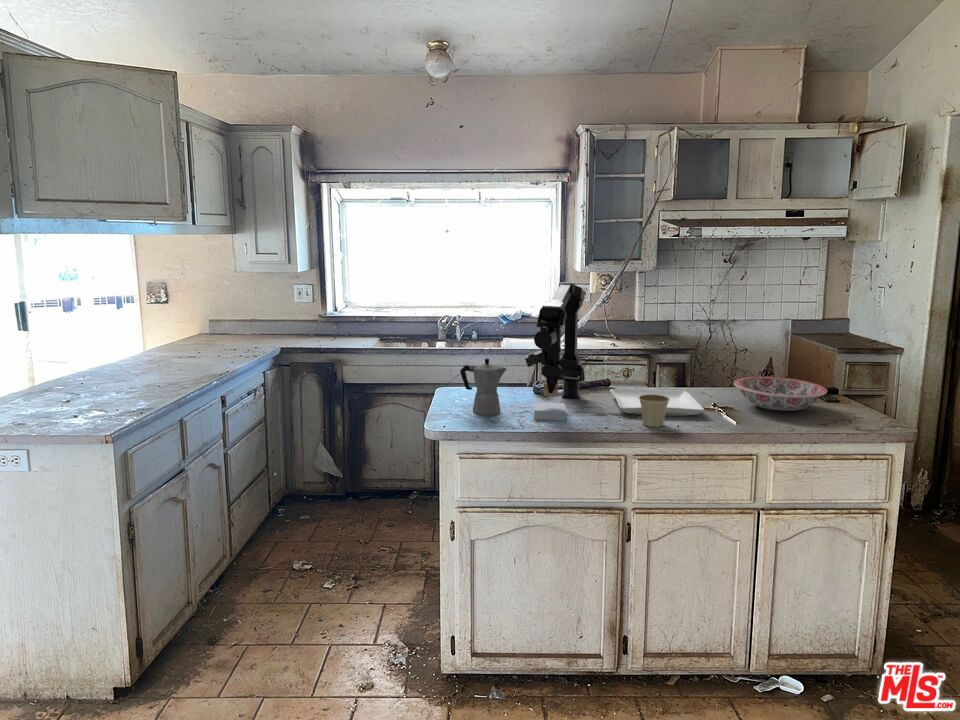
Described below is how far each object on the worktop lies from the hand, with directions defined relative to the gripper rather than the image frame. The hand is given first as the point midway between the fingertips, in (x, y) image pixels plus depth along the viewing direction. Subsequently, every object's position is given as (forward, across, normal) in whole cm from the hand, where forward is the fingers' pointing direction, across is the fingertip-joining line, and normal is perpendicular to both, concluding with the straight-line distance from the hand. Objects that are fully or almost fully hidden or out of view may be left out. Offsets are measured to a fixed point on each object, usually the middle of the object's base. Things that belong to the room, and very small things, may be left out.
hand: (550, 391), depth 223 cm
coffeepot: (+8, -3, -22) cm, 24 cm away
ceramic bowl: (+9, -18, +78) cm, 80 cm away
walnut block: (+1, 0, 0) cm, 1 cm away
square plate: (+9, -15, +36) cm, 40 cm away
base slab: (+8, 0, 0) cm, 8 cm away
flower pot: (+8, +7, +32) cm, 34 cm away
